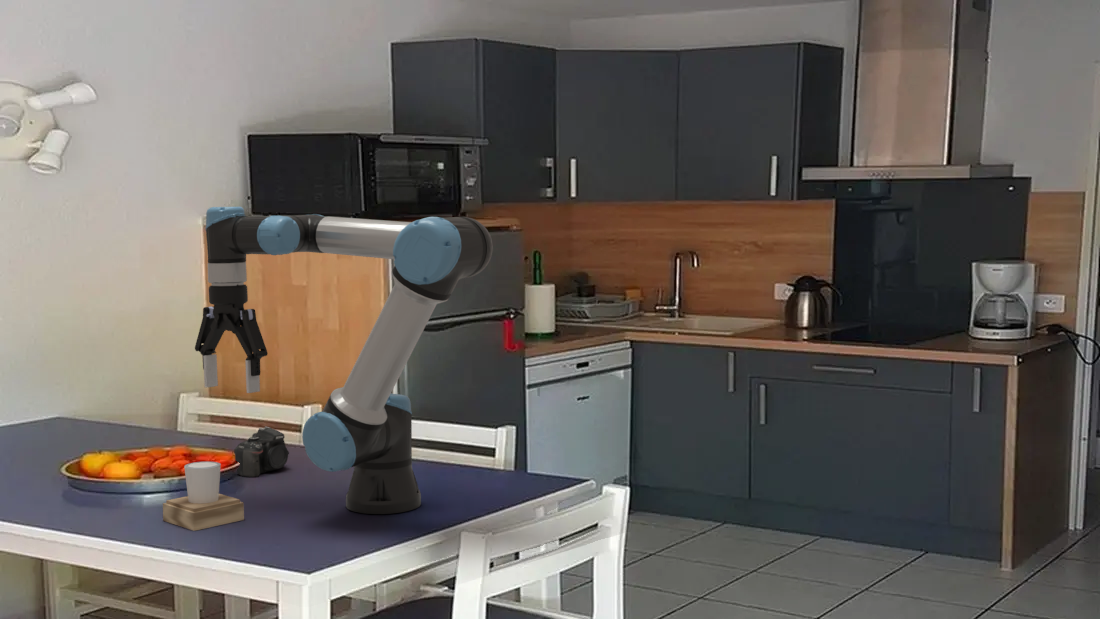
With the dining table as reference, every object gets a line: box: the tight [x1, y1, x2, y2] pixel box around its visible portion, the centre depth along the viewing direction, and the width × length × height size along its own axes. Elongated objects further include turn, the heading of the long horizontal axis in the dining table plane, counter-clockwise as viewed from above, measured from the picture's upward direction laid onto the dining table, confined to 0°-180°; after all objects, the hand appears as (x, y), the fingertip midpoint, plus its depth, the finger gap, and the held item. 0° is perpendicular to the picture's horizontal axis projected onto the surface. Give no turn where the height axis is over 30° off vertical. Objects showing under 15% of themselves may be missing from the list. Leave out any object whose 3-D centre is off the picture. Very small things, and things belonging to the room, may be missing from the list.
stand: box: [162, 493, 245, 532], centre depth 247 cm, size 11×11×4 cm
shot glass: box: [184, 460, 222, 504], centre depth 246 cm, size 7×7×7 cm
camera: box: [233, 426, 290, 478], centre depth 289 cm, size 13×10×10 cm
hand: (231, 389), depth 255 cm, fingers open, 13 cm apart
